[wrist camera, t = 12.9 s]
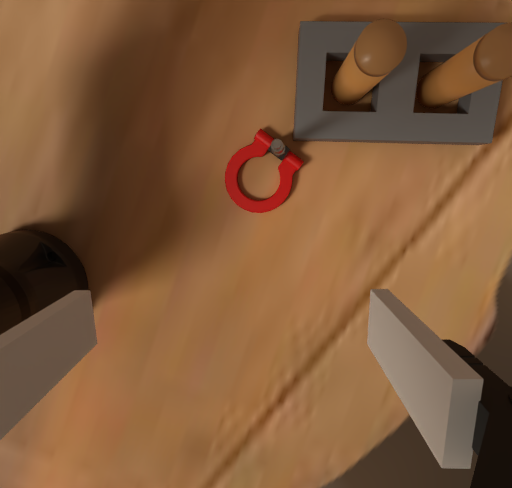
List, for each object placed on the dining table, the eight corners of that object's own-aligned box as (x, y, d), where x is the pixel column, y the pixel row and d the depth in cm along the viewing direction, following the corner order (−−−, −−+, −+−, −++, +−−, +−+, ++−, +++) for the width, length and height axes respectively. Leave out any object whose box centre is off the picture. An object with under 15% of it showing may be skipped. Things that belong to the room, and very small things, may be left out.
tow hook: (266, 224, 42) (310, 165, 40) (258, 249, 30) (321, 166, 27) (214, 186, 42) (255, 124, 39) (183, 195, 29) (241, 105, 27)
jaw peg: (327, 100, 38) (350, 67, 26) (336, 64, 37) (365, 13, 26) (359, 108, 38) (397, 78, 26) (370, 72, 37) (413, 25, 26)
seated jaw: (413, 108, 38) (476, 77, 26) (418, 71, 37) (485, 22, 25) (448, 108, 38) (527, 78, 26) (453, 71, 37) (538, 22, 25)
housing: (293, 140, 39) (294, 138, 37) (298, 31, 37) (300, 21, 34) (477, 145, 38) (491, 143, 36) (496, 33, 36) (512, 22, 33)
